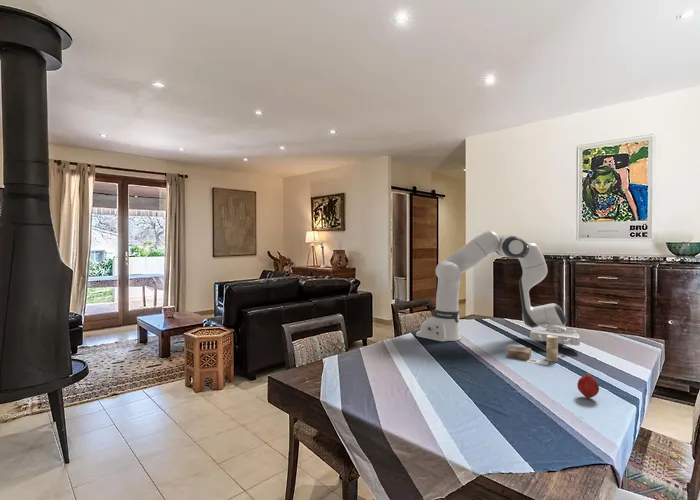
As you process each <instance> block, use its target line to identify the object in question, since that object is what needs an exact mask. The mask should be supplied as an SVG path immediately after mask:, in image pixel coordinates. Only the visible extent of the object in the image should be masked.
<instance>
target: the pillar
mask: <svg viewBox="0 0 700 500" xmlns="http://www.w3.org/2000/svg"><path fill="white" fill-rule="evenodd" d="M545 348H546V350H545V351H546V352H545V361H546V360H547V361H548V362H552V361H553V362H554V363H558V358H559V357H558V353H559V344H558V336H552V335H547V341H546V347H545Z"/></svg>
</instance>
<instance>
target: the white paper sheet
mask: <svg viewBox="0 0 700 500" xmlns="http://www.w3.org/2000/svg"><path fill="white" fill-rule="evenodd" d="M525 362H526V363H530V362H531V364H536V363H537V364H538V365H544V366H548V365H549V361H546V360H540V359H535V358H530V359H529V360H525Z"/></svg>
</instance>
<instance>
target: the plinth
mask: <svg viewBox="0 0 700 500" xmlns="http://www.w3.org/2000/svg"><path fill="white" fill-rule="evenodd" d="M531 357H532V348H531V347H525V346H524V347H523V346H516V345H515V346H514V345H511V346H510V347H509V348H508V358H511V359H519V360H525V361H526V360H529V359H531Z"/></svg>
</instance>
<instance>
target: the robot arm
mask: <svg viewBox="0 0 700 500" xmlns="http://www.w3.org/2000/svg"><path fill="white" fill-rule="evenodd" d="M493 253H496V254H498V255H499V256H502V257H505V258H511V259H518V261H519V262H520V266H521V269H522V275H521V277H520V278H519V280H518V281H519V282H518V287H519V294H520V301H521V309H522V321H523V323H524V325H526V326H527V327H529V328H537V327H540V326H546V327H545V330H544V329H532V330H531V331H530V332H529V339H531V340H535V341H540V342H547V335H552V336H558V345H566V346H567V345H571V346H578V347H579V346H580V345H581V335H579V333H577V330H575V329H571V328H567V327H566V326H565V324H566V322H567V319H566V315H565V312H564V310H563V309H562V307H561V306H560V305H559V304H557V303H555V302H554V303H547V304H544V305H543V304H542V305H537V306H532V304H531V297H530V290H531V289H532V288H533V287H534V286H536V285H538V284H539V283H541V282H542V281H543V280H544V279H545V278H546V277H547V275H548V265H547V263H546V260H545V257H544V255H543V253H542V251H541V248H540V247H539V246H538V244H536V243H535V242H534V243H533V242H526V241H525V240H524V239H523V238H522V237H519V236H517V235H512V234H511V235H510V234H508V235H498V234H497V233H496V232H495V231H493V230H486V231H484V232H482V233H480V234H478V235H477V236H476V237H474V238H472V239H471V240H470V241H469V242H467V243H466V244H465V245H463V246H462V247H460V248H459V249H458V250H457V251H455V252H453V253H452V254H450V255H449V256H447V257H446V258H445V259H443V260H441V261H440V262H439V263H438V264H437V265H436V266H435V275H436V277H437V287H436V296H435V297H436V298H435V301H436V303H435V308H434V309H433V310H431V316H430V317H428V318H427V319H425V321H423V322H422V324H420V330H418V331H416V333H415V336H416V337H419V338H423V339H428V340H431V341H432V340H433V341H438V342H450V341H451V342H454V341H460V340H461V339H462V336H461V332H460V326H459V322H460V310H459V299H460V298H459V296H460V295H459V293H460V290H461V289H460V288H461V282H462V281H461V280H462V274H464V272H467V271H469V270H470V269H471V268H474V267H475V266H477V265H478V264H479V263H481V261H483V260H484V259H486V258H487V257H489V256H490V255H491V254H493Z"/></svg>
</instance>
